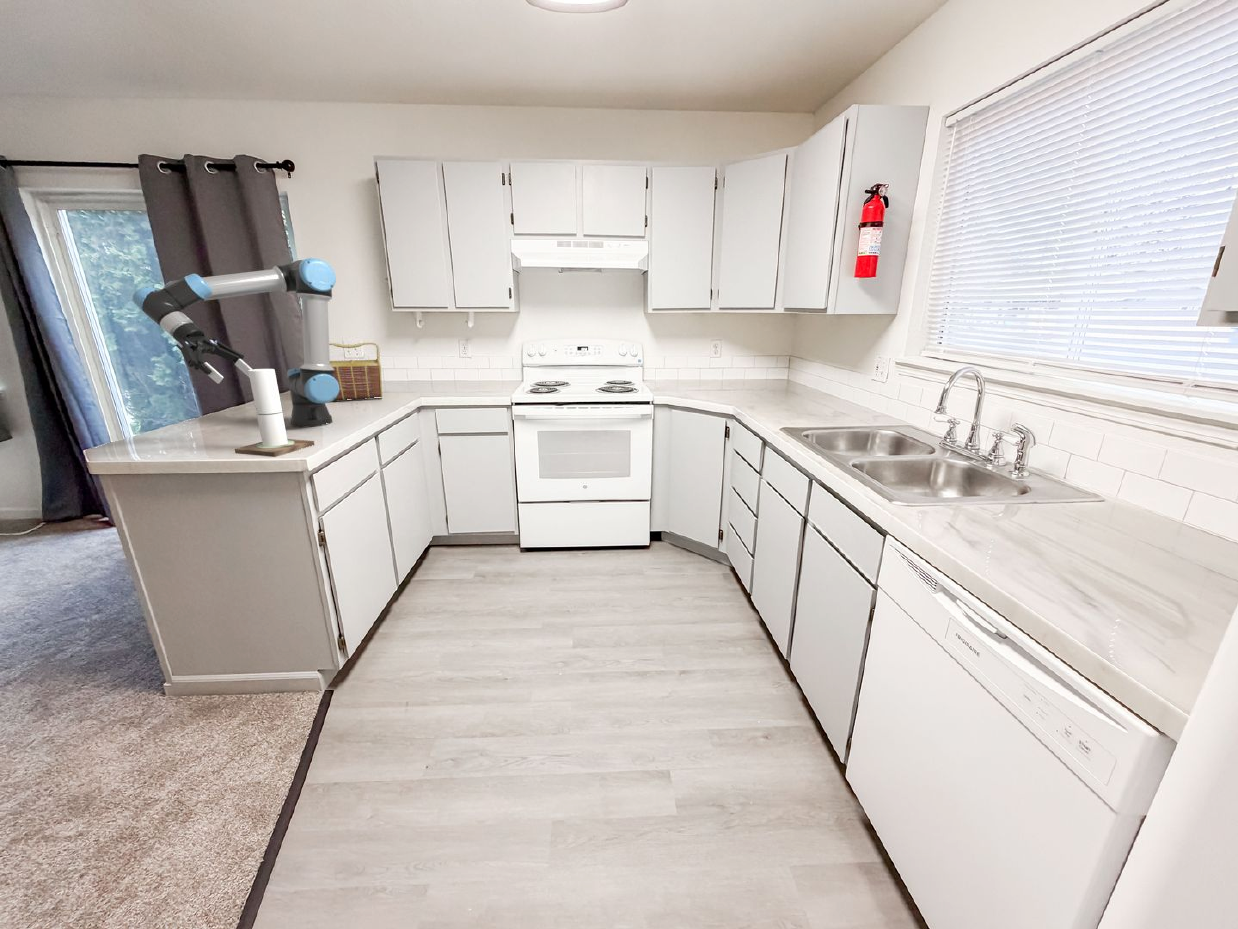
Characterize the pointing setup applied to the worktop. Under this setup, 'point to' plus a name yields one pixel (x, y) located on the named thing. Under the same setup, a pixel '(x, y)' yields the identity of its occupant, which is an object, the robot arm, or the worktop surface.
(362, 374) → the picnic basket
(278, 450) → the board
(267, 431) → the cylindrical container
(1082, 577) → the worktop surface
